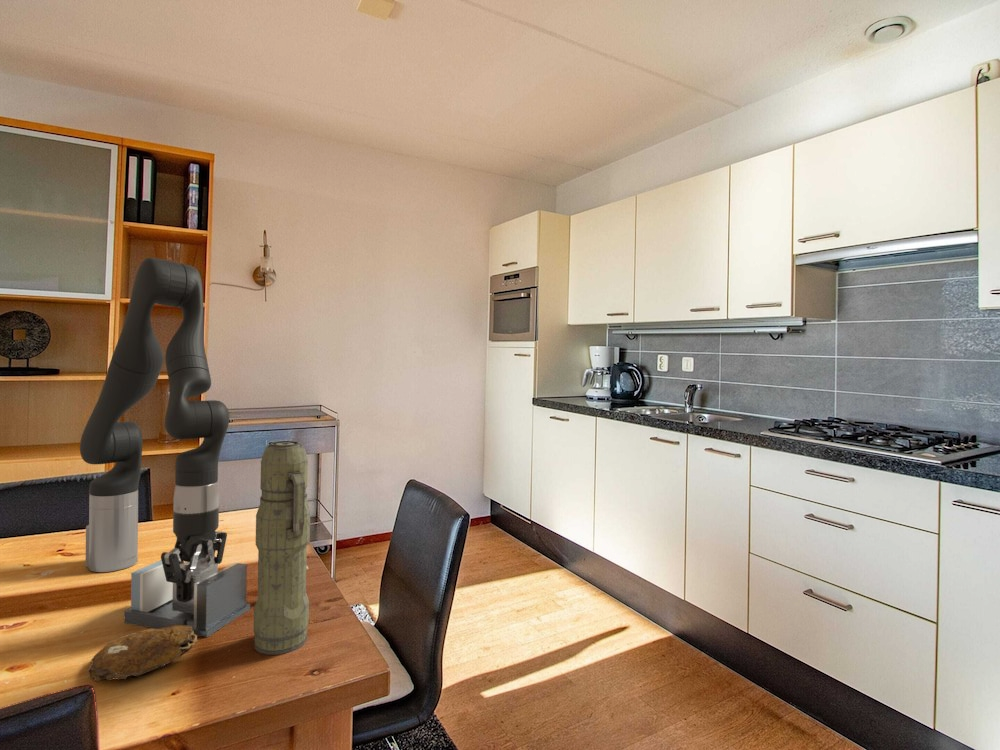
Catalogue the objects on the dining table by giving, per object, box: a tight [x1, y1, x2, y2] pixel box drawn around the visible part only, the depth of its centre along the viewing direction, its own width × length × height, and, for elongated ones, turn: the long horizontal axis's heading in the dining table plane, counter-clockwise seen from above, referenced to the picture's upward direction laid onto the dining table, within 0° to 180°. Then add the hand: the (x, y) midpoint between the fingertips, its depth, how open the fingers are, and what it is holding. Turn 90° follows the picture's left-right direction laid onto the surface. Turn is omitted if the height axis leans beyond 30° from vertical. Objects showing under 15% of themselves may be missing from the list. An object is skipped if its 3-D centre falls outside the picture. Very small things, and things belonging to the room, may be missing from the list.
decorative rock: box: [88, 624, 199, 682], centre depth 88 cm, size 11×4×15 cm
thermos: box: [253, 440, 311, 656], centre depth 94 cm, size 9×12×35 cm
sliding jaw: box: [130, 559, 173, 612], centre depth 104 cm, size 3×9×8 cm, turn 167°
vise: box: [123, 562, 251, 638], centre depth 103 cm, size 18×11×9 cm, turn 77°
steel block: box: [172, 561, 219, 614], centre depth 102 cm, size 6×4×8 cm
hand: (195, 594), depth 102 cm, fingers open, 4 cm apart
